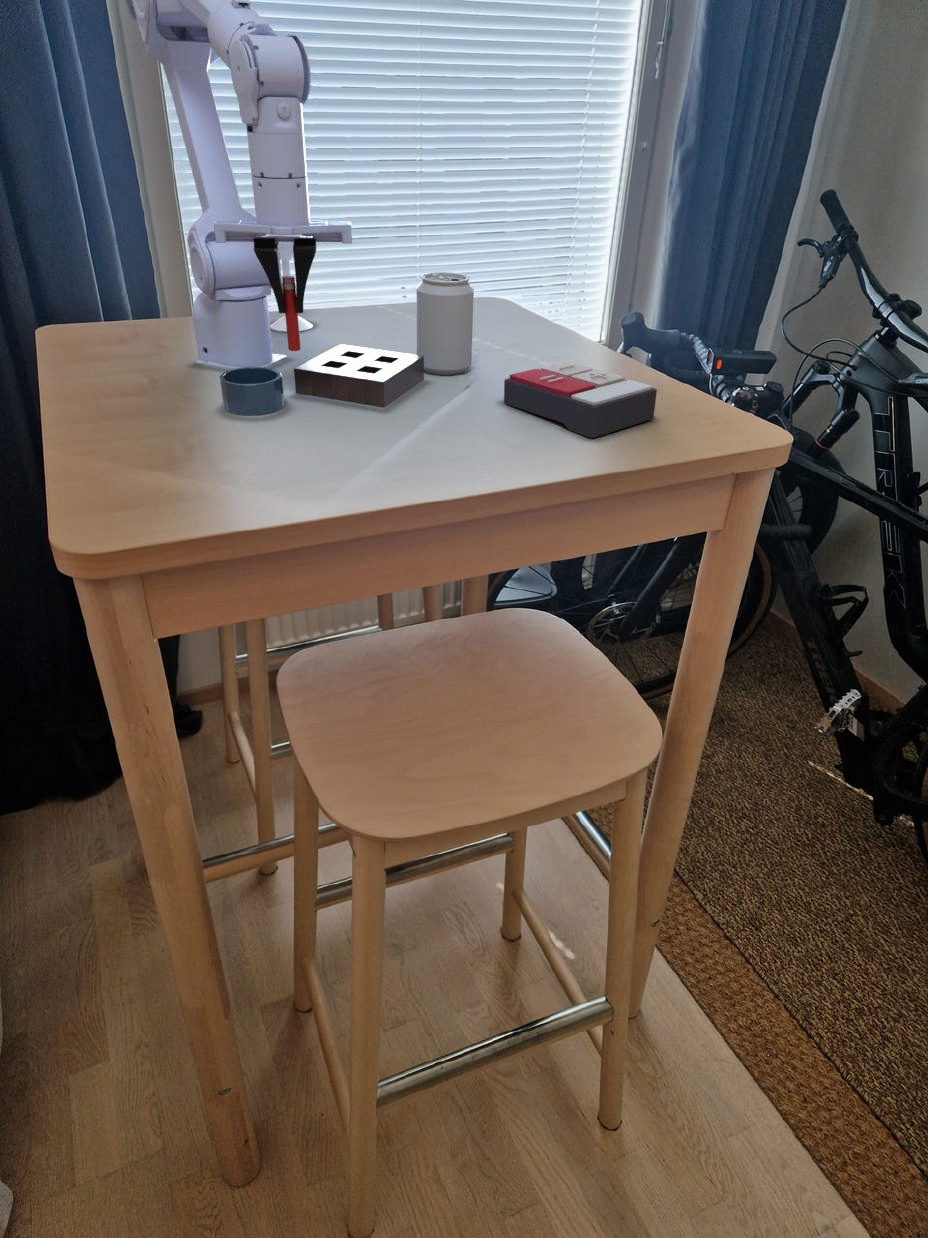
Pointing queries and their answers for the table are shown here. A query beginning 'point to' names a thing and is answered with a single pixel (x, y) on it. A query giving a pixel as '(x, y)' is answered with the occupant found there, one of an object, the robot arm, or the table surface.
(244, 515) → the table surface
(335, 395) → the pencil stand
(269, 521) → the table surface
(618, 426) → the calculator
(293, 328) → the pencil
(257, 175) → the robot arm
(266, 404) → the cup
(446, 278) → the can
